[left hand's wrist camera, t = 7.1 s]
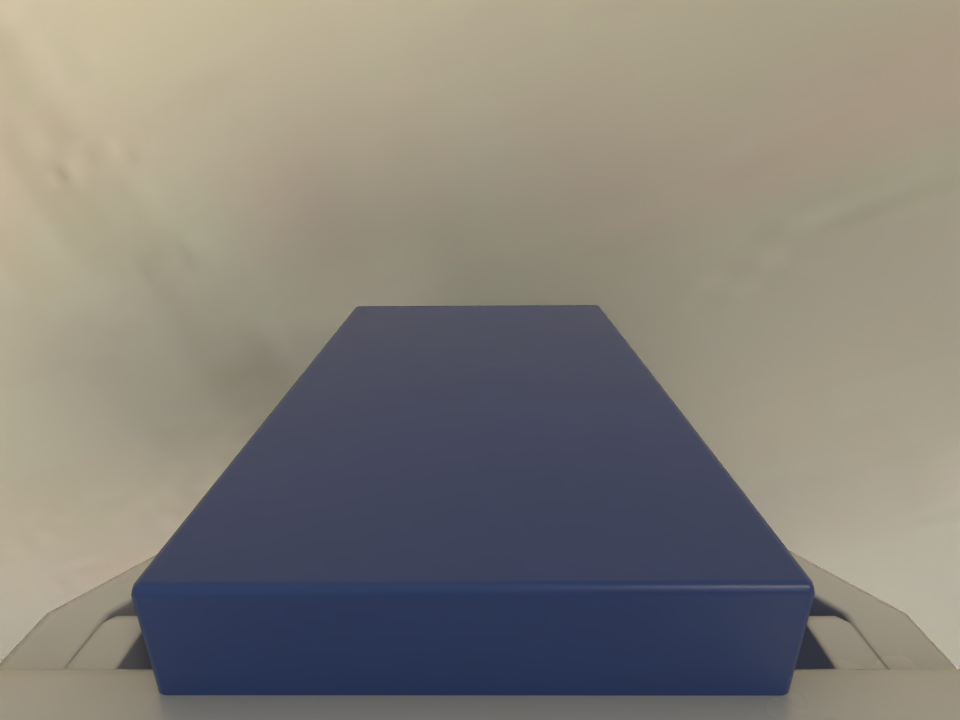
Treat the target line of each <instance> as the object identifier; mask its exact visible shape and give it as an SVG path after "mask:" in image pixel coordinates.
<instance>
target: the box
mask: <svg viewBox="0 0 960 720" xmlns="http://www.w3.org/2000/svg"><path fill="white" fill-rule="evenodd" d="M814 595H815V591H814V586H813V583H812V580H811V579H810V578H809V577H808V575H807V574H806V573H805V571H804V570H803V569H802V568H801V566H800V565H799V564H798V562H797V561H796V560H795V559H794V557H793V556H792V555H791V553H790V552H789V551H788V549H787V548H786V547H785V546H784V544H783V543H782V542H781V540H780V539H779V538H778V537H777V535H776V534H775V533H774V531H773V530H772V529H771V528H770V526H769V525H768V524H767V522H766V521H765V520H764V518H763V517H762V516H761V515H760V513H759V512H758V511H757V509H756V508H755V507H754V506H753V504H752V503H751V502H750V500H749V499H748V498H747V497H746V495H745V494H744V493H743V491H742V490H741V489H740V487H739V486H738V485H737V484H736V482H735V481H734V480H733V478H732V477H731V476H730V475H729V473H728V472H727V471H726V469H725V468H724V467H723V466H722V464H721V463H720V462H719V460H718V459H717V458H716V457H715V455H714V454H713V453H712V451H711V450H710V449H709V447H708V446H707V445H706V444H705V442H704V441H703V440H702V438H701V437H700V436H699V435H698V433H697V432H696V431H695V429H694V428H693V427H692V426H691V424H690V423H689V422H688V420H687V419H686V418H685V416H684V415H683V414H682V413H681V411H680V410H679V409H678V407H677V406H676V405H675V404H674V402H673V401H672V400H671V398H670V397H669V396H668V395H667V393H666V392H665V391H664V389H663V388H662V387H661V386H660V384H659V383H658V382H657V380H656V379H655V378H654V376H653V375H652V374H651V373H650V371H649V370H648V369H647V367H646V366H645V365H644V364H643V362H642V361H641V360H640V358H639V357H638V356H637V355H636V353H635V352H634V351H633V349H632V348H631V347H630V345H629V344H628V343H627V342H626V340H625V339H624V338H623V336H622V335H621V334H620V333H619V331H618V330H617V329H616V327H615V326H614V325H613V324H612V322H611V321H610V320H609V318H608V317H607V316H606V314H605V313H604V312H603V311H602V309H601V308H600V307H599V306H597V305H551V306H359V307H356V308H355V309H354V311H353V312H352V313H351V314H350V316H349V317H348V318H347V319H346V321H345V322H344V323H343V324H342V326H341V327H340V328H339V329H338V331H337V332H336V333H335V334H334V336H333V337H332V338H331V339H330V341H329V342H328V343H327V344H326V346H325V347H324V348H323V349H322V350H321V352H320V353H319V354H318V355H317V357H316V358H315V359H314V360H313V362H312V363H311V364H310V365H309V367H308V368H307V369H306V370H305V372H304V373H303V374H302V375H301V377H300V378H299V379H298V380H297V382H296V383H295V384H294V385H293V387H292V388H291V389H290V390H289V391H288V393H287V394H286V395H285V396H284V398H283V399H282V400H281V401H280V403H279V404H278V405H277V406H276V408H275V409H274V410H273V411H272V413H271V414H270V415H269V416H268V418H267V419H266V420H265V421H264V423H263V424H262V425H261V426H260V428H259V429H258V430H257V431H256V432H255V434H254V435H253V436H252V437H251V439H250V440H249V441H248V442H247V444H246V445H245V446H244V447H243V449H242V450H241V451H240V452H239V454H238V455H237V456H236V457H235V459H234V460H233V461H232V462H231V464H230V465H229V466H228V467H227V469H226V470H225V471H224V472H223V474H222V475H221V476H220V477H219V478H218V480H217V481H216V482H215V483H214V485H213V486H212V487H211V488H210V490H209V491H208V492H207V493H206V495H205V496H204V497H203V498H202V500H201V501H200V502H199V503H198V505H197V506H196V507H195V508H194V510H193V511H192V512H191V513H190V515H189V516H188V517H187V518H186V519H185V521H184V522H183V523H182V524H181V526H180V527H179V528H178V529H177V531H176V532H175V533H174V534H173V536H172V537H171V538H170V539H169V541H168V542H167V543H166V544H165V546H164V547H163V548H162V549H161V551H160V552H159V553H158V554H157V556H156V557H155V558H154V559H153V560H152V562H151V563H150V564H149V565H148V567H147V568H146V569H145V570H144V572H143V573H142V574H141V575H140V577H139V578H138V579H137V580H136V582H135V583H134V585H133V588H132V593H131V597H132V600H133V604H134V607H135V611H136V614H137V618H138V621H139V624H140V628H141V631H142V635H143V638H144V642H145V645H146V649H147V652H148V655H149V659H150V662H151V666H152V669H153V673H154V676H155V679H156V683H157V686H158V690H159V693H161V694H163V695H563V696H783V695H785V694H788V692H789V689H790V685H791V681H792V677H793V674H794V670H795V666H796V662H797V659H798V655H799V651H800V647H801V644H802V640H803V636H804V632H805V629H806V625H807V621H808V617H809V613H810V610H811V606H812V602H813V598H814Z"/></svg>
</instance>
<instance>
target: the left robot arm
mask: <svg viewBox="0 0 960 720" xmlns="http://www.w3.org/2000/svg"><path fill="white" fill-rule="evenodd" d="M788 551H789V550H788ZM789 552H790V553H791V555H792V556H793V557H794V559H795V560H796V561H797V562H798V564H799V565H800V566H801V568H802V569H803V570H804V571H805V573H806V574H807V575H808V577H809V578H810V579H811V580H812V583H813V586H814V591H815V595H814V598H813V602H812V606H811V610H810V613H809V617H808V621H807V625H806V629H805V632H804V636H803V640H802V644H801V647H800V651H799V655H798V659H797V662H796V666H795V670H794V674H793V677H792V681H791V685H790V689H789V692H788V694H785V695H783V696H563V695H163V694H161V693H159V690H158V686H157V683H156V679H155V676H154V673H153V669H152V666H151V662H150V659H149V655H148V652H147V649H146V645H145V642H144V638H143V635H142V631H141V628H140V624H139V621H138V618H137V614H136V611H135V607H134V604H133V600H132V597H131V593H132V588H133V585H134V583H135V582H136V580H137V579H138V578H139V577H140V575H141V574H142V573H143V572H144V570H145V569H146V568H147V567H148V565H149V564H150V563H151V562H152V560H153V559H154V558H155V557H156V556H157V555H156V556H154V557H152V558H150V559H148V560H146V561H144V562H143V563H141V564H139V565H137V566H135V567H133V568H131V569H129V570H128V571H126V572H124V573H122V574H120V575H118V576H116V577H115V578H113V579H111V580H109V581H107V582H105V583H103V584H101V585H100V586H98V587H96V588H94V589H92V590H90V591H88V592H87V593H85V594H83V595H81V596H79V597H77V598H75V599H74V600H72V601H70V602H68V603H66V604H64V605H62V606H60V607H59V608H57V609H55V610H53V611H51V612H49V613H47V614H46V615H45V616H44V617H43V619H42V620H41V621H40V622H39V623H38V624H37V625H36V626H35V627H34V628H33V629H32V630H31V631H30V632H29V633H28V634H27V635H26V637H25V638H24V639H23V640H22V641H21V642H20V643H19V644H18V645H17V646H16V647H15V648H14V649H13V650H12V651H11V652H10V654H9V655H8V656H7V657H6V658H5V659H4V660H3V661H2V662H1V663H0V720H960V669H957V668H956V667H955V666H954V665H953V664H952V663H951V662H950V661H949V660H948V659H947V658H946V657H945V655H944V654H943V653H942V652H941V651H940V650H939V649H938V648H937V647H936V646H935V645H934V643H933V642H932V641H931V640H930V639H929V638H928V637H927V636H926V635H925V634H924V633H923V632H922V630H921V629H920V628H919V627H918V626H917V625H916V624H915V623H914V622H913V621H912V620H911V619H910V617H909V616H908V615H907V614H905V613H903V612H901V611H899V610H898V609H896V608H894V607H892V606H890V605H888V604H886V603H885V602H883V601H881V600H879V599H877V598H875V597H874V596H872V595H870V594H868V593H866V592H864V591H863V590H861V589H859V588H857V587H855V586H853V585H852V584H850V583H848V582H846V581H844V580H842V579H840V578H839V577H837V576H835V575H833V574H831V573H829V572H828V571H826V570H824V569H822V568H820V567H818V566H817V565H815V564H813V563H811V562H809V561H807V560H805V559H804V558H802V557H800V556H798V555H796V554H794V553H793V552H791V551H789Z"/></svg>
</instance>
